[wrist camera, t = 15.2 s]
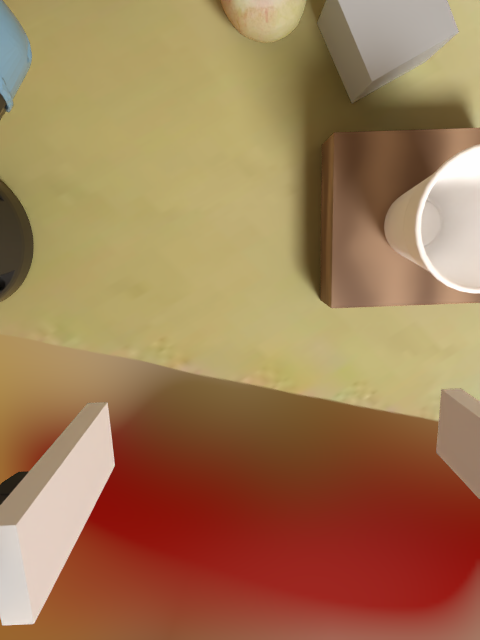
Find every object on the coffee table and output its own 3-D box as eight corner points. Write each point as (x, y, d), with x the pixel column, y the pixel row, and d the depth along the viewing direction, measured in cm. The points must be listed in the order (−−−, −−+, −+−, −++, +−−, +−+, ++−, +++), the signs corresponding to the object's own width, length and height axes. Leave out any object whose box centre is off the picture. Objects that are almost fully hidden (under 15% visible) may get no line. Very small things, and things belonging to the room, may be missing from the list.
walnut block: (320, 299, 44) (331, 308, 39) (321, 144, 40) (334, 132, 35) (464, 294, 44) (493, 302, 39) (477, 139, 40) (511, 126, 35)
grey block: (351, 104, 40) (372, 81, 34) (316, 24, 38) (331, -15, 32) (424, 62, 39) (458, 31, 33) (392, -22, 37) (422, -69, 31)
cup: (444, 288, 38) (526, 309, 28) (348, 261, 38) (394, 272, 27) (483, 185, 36) (588, 165, 26) (383, 155, 36) (447, 121, 25)
